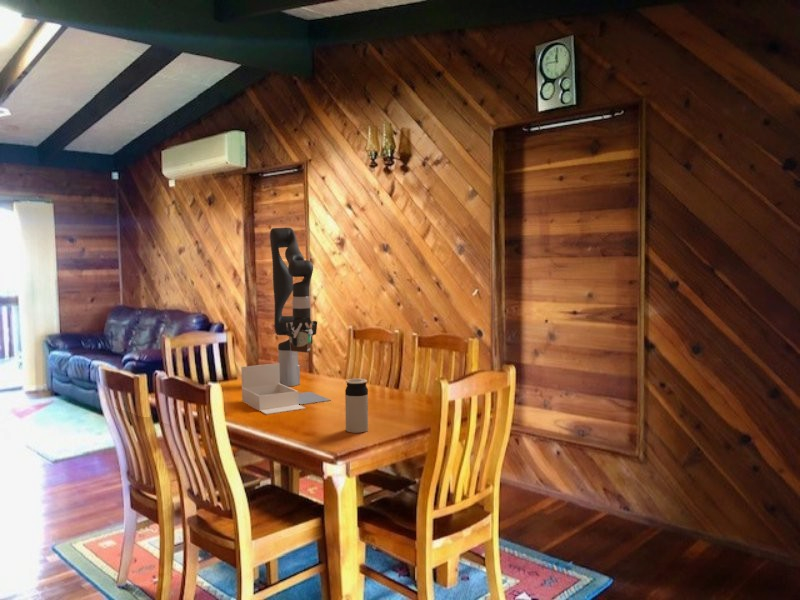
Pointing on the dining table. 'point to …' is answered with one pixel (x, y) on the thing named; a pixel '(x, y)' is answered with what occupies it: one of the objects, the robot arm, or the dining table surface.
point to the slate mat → (310, 398)
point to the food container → (302, 341)
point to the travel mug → (356, 405)
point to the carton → (267, 390)
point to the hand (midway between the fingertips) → (302, 345)
